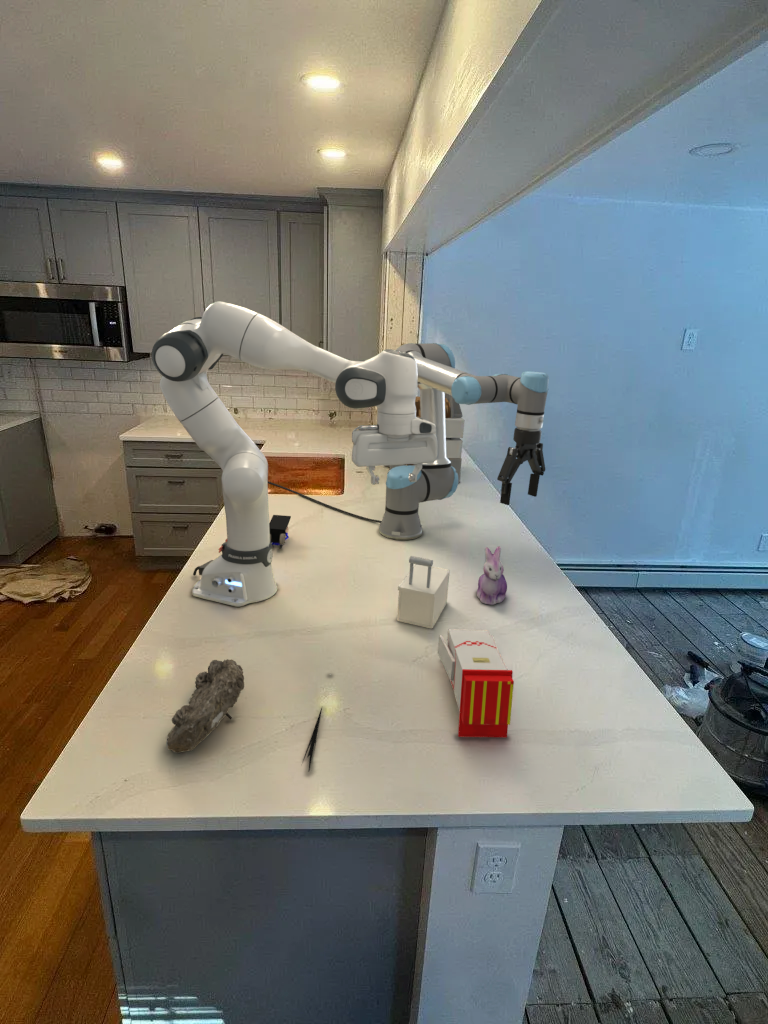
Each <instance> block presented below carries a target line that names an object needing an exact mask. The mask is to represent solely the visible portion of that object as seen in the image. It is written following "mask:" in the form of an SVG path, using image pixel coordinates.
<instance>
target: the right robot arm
mask: <svg viewBox="0 0 768 1024" xmlns="http://www.w3.org/2000/svg"><path fill="white" fill-rule="evenodd" d="M395 350H398V351H402V352H406V353H408V354H410V355H411V356H413V357H414V359H415V360H416V363H417V370H418V389H419V397H420V410H421V418H422V419H425V420H427V421H430V422H432V423H433V424H435V426H436V430H435V432H434V433H433V434H434V435H435V436H436V438H437V444H438V456H437V459H436V461H435V462H434V463H422V469H421V470H420V472H419V474H418V475H417V481H416V482H410V481H409V473H412V472H413V470H414V468H415V466H412V465H408V466H407V465H403V466H398V467H395V468H392V469H391V470H390V469H389V470H388V472H387V475H386V479H385V504H384V505H385V507H384V508H385V509H384V513H383V515H382V519H381V520H379V519H375V518H374V519H373V518H368V517H365V516H362V515H358V514H355V513H352V512H348V511H346V510H343V509H341V508H338V507H336V506H332V505H330V504H327V503H325V502H322V501H319V500H317V499H315V498H313V497H310V496H308V495H305V494H303V493H300V492H298V491H297V490H293V489H290V488H288V487H285V486H283V485H280V484H277V483H275V482H271V481H269V480H268V485H271V486H275V487H277V488H280V489H282V490H285V491H288V492H290V493H293V494H295V495H298V496H300V497H303V498H305V499H307V500H310V501H312V502H314V503H316V504H319V505H322V506H323V507H327V508H330V509H331V510H334V511H337V512H340V513H343V514H345V515H349V516H352V517H354V518H356V519H357V518H358V519H361V520H365V521H368V522H371V523H372V522H373V523H377V524H378V523H379V526H378V533H379V534H380V535H381V536H382V537H385V538H387V539H389V540H395V541H410V540H415V539H418V538H420V537H421V536H422V535H423V525H422V524H421V518H420V515H419V507H420V506H419V505H420V503H426V502H432V501H437V500H438V501H441V500H444V499H447V498H450V497H452V496H453V495H454V494H455V493H456V491H457V489H458V486H459V483H458V474H457V473H456V470H455V468H454V467H452V466H451V461H450V460H449V459H447V457H446V425H445V393H447V394H449V395H451V396H452V397H453V399H454V400H455V402H456V403H458V404H459V405H466V406H467V405H468V406H470V405H477V404H478V405H479V404H493V403H510V404H513V405H517V406H516V407H517V408H516V414H515V421H514V427H515V428H514V431H513V439H512V440H513V442H515V447H512V446H508V448H507V452H506V456H505V458H504V461H503V463H502V465H501V468H500V471H499V473H498V475H497V477H496V479H497V481H499V482H501V489H500V501H499V503H500V504H502V505H504V506H505V505H506V506H510V502H511V494H512V488H513V487H512V485H513V482H511V481H512V480H513V478H514V476H515V474H516V473H517V471H518V469H519V467H520V466H521V465H523V464H524V463H525V462H527V463H528V465H529V467H530V470H531V472H532V473H530V476H529V481H528V482H529V483H528V489H527V495H528V496H531V497H535V498H536V497H537V496H538V489H539V483H540V477H541V476H544V474H545V472H546V465H545V457H544V452H543V451H544V450H543V449H544V443H543V442H541V440H542V428H543V425H544V416H545V409H546V402H547V397H548V393H549V380H550V377H549V374H547V373H546V372H540V371H539V372H538V371H523V372H522V373H521V375H520V376H514V375H510V374H507V373H495V374H493V375H474V374H471V373H468V372H466V371H463V370H460V369H458V368H456V357H455V354H454V352H453V351H452V349H451V348H450V347H449V346H448V345H447V344H443V343H437V342H432V343H429V342H426V343H425V342H424V343H414V342H413V343H412V342H410V343H409V342H408V343H405V344H402V345H400V346H398V347H397V348H396V349H395Z"/></svg>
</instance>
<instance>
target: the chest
mask: <svg viewBox="0 0 768 1024" xmlns="http://www.w3.org/2000/svg"><path fill="white" fill-rule="evenodd" d="M449 582H450V574H449V575H448V576H447V578H446V579H445V581H444V583H443V584H442V586H441V588H440V589H439V591H438V592H437V594H436V596H435V597H434V598H432V597H427V596H422V595H418V594H413V593H408V592H404V591H399V590H398V595H397V596H398V597H397V598H398V599H397V615H396V621H397V622H401V623H404V624H409V625H410V624H411V625H413V626H417V627H418V626H419V627H422V628H426V629H431V630H432V629H433V628H434V627H435V625H436V623H437V621H438V620H439V618H440V616H441V615H442V613H443V611H444V609H445V607H446V606H447V603H448V593H449Z"/></svg>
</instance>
